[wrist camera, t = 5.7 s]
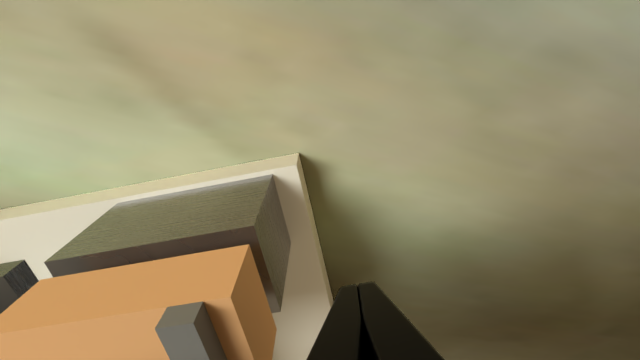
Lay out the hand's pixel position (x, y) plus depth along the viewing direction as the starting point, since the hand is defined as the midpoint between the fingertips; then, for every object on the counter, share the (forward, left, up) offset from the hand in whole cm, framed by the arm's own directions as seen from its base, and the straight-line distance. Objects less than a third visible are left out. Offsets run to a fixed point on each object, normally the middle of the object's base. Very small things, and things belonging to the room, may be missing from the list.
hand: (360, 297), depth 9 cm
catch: (-6, 0, -1) cm, 6 cm away
